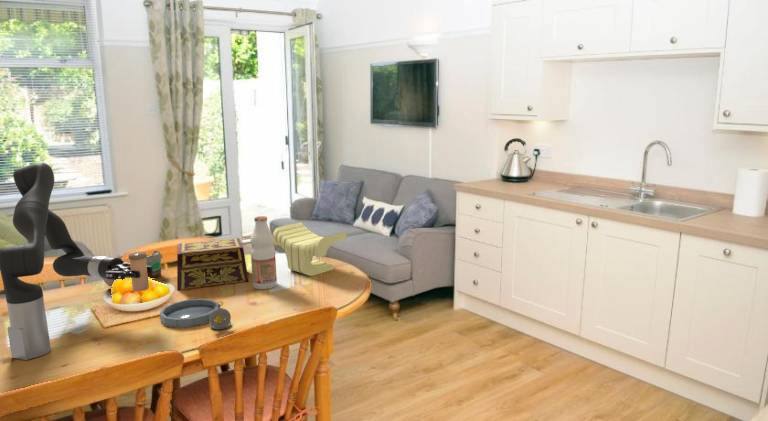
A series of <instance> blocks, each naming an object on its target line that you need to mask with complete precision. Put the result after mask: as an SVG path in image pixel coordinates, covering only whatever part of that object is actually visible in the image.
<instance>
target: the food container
mask: <svg viewBox="0 0 768 421" xmlns="http://www.w3.org/2000/svg"><path fill="white" fill-rule="evenodd" d="M162 254H163V253H161V251H159V250H154V251H153V253H151V254H146V264H147V266H152V270H153V272H152V273H148V277H150V278H156V279H159V278H161V277H162V259H163V255H162ZM156 279H155V280H156Z"/></svg>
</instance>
